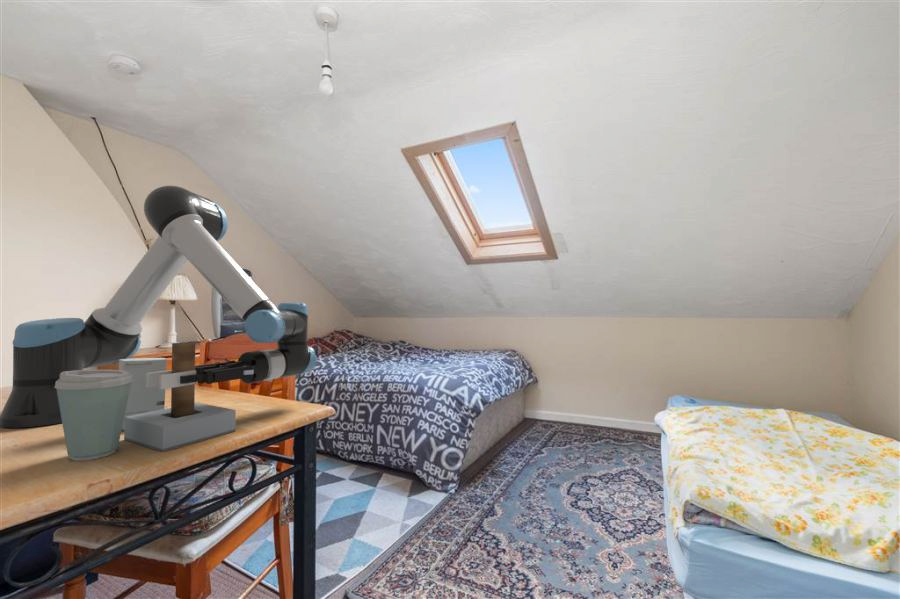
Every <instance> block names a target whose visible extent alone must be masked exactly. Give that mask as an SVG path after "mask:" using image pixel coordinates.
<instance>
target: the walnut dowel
mask: <svg viewBox="0 0 900 599" xmlns="http://www.w3.org/2000/svg"><path fill="white" fill-rule="evenodd" d="M171 343H172V342H171ZM195 366H196V342H194V341H190V342H189V341H186V342H185V341H183V342H173V343H172V344H171V370H172V373H179V372H186V371H194V370H195ZM195 386H196V384H193V385H186V386H180V387H174V388H170V389H171V390H170V391H171V393H170V394H171V395H170V396H171V397H170V402H171V403H170V408H171V418H180V417H184V416H189V415H193V414H194V403H196V402H195V398H196V397H195V395H196V394H195V391H196V390H195V388H196V387H195Z"/></svg>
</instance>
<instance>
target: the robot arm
mask: <svg viewBox="0 0 900 599" xmlns="http://www.w3.org/2000/svg"><path fill="white" fill-rule="evenodd" d="M143 213H144V215H145V218H146V220H147V222H148V224H149V225H150V227H152V229H153V230H154V231H155V232H156V234H157V235H158V236H157V238H156V239H155V241H154V242H153V244H151V245H150V247H149V248H148V250H147V251H146V252H145V254H144V255H143V256H142V258H141V259H140V260H139V262H138V263H137V264H136V266H135V267H134V268H133V269H132V271H131V272H130V273H129V275H128V276H127V278H125V280H124V281H123V283H122V284H121V285H120V287H119V288H118V290H117V291H116V292H115V293H114V295H113V296H112V297H111V298H110V300H109V302H107V304H106V306H104V307H100V308H96V309H94V310H93V311H92V312H91V314H90V315H89V316H88V318H86V320H85V321H84V320H83V319H82V318H80V317H79V318H78V317H59V318H47V319H38V320H31V321H25V322H22V323H20V324H19V325H17V326H16V328H15V329H14V338H13V340H12V348H13V349H12V350H13V352H12V353H13V354H12V355H13V356H12V388H11V392H10V394H9V395H8V398H7V400H6V402H5V404H4V406H3V409H2V411H1V413H0V427H1V428H10V429H14V428H15V429H17V428H19V429H21V428H32V427H33V428H34V427H42V426H50V425H55V424H56V425H57V424H62V418H61V412H60V406H59V401H58V395H57V389H56V388H55V383H56V381H57V380H58V379H60V374H61V373H62V372H65V371H74V370H84V369H89V368H96V367H102V366H103V367H104V366H110V365H117V364H119V360H120V359H131V358H132V357H133V356H134V355H135V354H136V353H137V352H138V351H139V349H140V346H141V343H142V341H141V340H140V339H141V338H142V336H141V333H142V331H143V327H142V324H141V322H142V321H143V319H145V317H146V316H147V315H148V313H149V312H150V311H151V309H152V307H153V306H154V305H155V304H156V302H157V301H158V300H159V299H160V297H161V296H162V294H163V293H164V292H165V291H166V289H167V288H168V286H169V285H170V284H171V283H172V281H173V280H174V279H175V277H176V276H177V274H178V273H180V270H181V269H182V268H183V267H184V266H185V264H186V263H187V262H188V261H189V263H191V265H192V266H193V267H194V268H195V269H196V270H197V272H198V273H200V276H202V277H203V278H204V279H205V280H206V282H208V283H209V285H210V286H211V287H212V288H213V289H214V290H215V291H216V292H217V293H218V294H219V296H220V297H221V298H222V299H223V300H224V301H225V302H226V303H227V305H229V306H230V308H231V309H232V310H233V311H234V312H235V313H236V314H237V315H238V316H239V318H241V320H242V321H243V322H244V329H245V333H246V336H247V337H248V338H249V339H250V340H251V341H253V342H255V343H259V344H272V343H277V348H272V349H263V350H255V351H245V352H243V353H241V355H240V356H238V357H239V358H238V360H233V359H232V360H227V361H224V362H220V361H217V362H213V363H207V364H206V363H205V364H199V365H195V370H194V371H186V372H179V373H172V369H169V370H167V371H161V372H153V373H147V375H146V387H154V386H159V389H161V390H162V389H165V390H168V389H171V388H174V387H180V386H186V385H193V384H195V385H196V384H199V385H202V384H207V385H211V384H215V383H223V382H229V381H234V380H235V381H236V380H240V381H241V382H243V383H245V384H247V385H250V384H255V383H261V382H263V381H264V382H265V381H267V382H268V383H271V382H273V379H274V380H275V379H276V380H277V379H280V378H281V379H282V378H287V377H294V376H300V375H304V374H307V373H310V372H311V371H313V370H314V369H315V368H316V365H317V361H318V357H317V355H316V351H315V349H314V348H313V347H312V346H309V345H308V344H309V343H308V333H309V332H308V330H309V329H308V328H309V327H308V325H309V324H308V322H309V321H308V320H309V315H308V314H309V313H308V311H309V310H308V305H307V304H306V303H304V302H281V303H278V305H277V306H276V305H275V304H274V302H273V301H271V300H270V298H269V297H268V296H267V295H266V294H265V293H264V291H263V290H262V289H261V288H260V287H259V286H258V285H257V284H256V283H255V282H254V280H253V279H252V278H251V277H250V276H249V275H248V274H247V273H246V271H244V270H243V269H242V267H241V266H240V265H239V264H238V262H236V261H235V259H233V257H232V256H231V255H230V254H229V253H228V252H227V251H226V250H225V249H224V247H222V245H220V243H219V241H221V240H222V238H224V237H225V234H226V233H227V230H228V227H229V226H228V225H229V221H228V217H227V215H226V212H225V210H224V209H223V208H222V207H221V206H220V205H219V204H218V203H216V202H214V201H213V200H211V199H210V198H207V197H204V196H202V195H199V194H197V193H195V192H192V191H190V190H188V189H186V188H184V187H181V186H177V185H164V186H160V187H157V188H154V189H153V190H152V191H150V193H148V195H147V197H146V198H145V199H144V204H143Z"/></svg>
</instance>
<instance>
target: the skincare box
mask: <svg viewBox="0 0 900 599" xmlns="http://www.w3.org/2000/svg"><path fill="white" fill-rule="evenodd" d="M167 365H168V359H167V358H165V357H138V358H129V359H120V360H119V363H118V370H122V371H127V372H129V374H132V377H133V381H132V382H131V386H130V391H129V396H128V401H127V406H126V410H125V415H124V420H123V425H122V430H121V432H122V431H124V423H125V417H127V416H132V415H137V414H142V413H147V412H152V411H157V410H162V409H166V408H165V406H166V403H165V402H166V389H162V390H161V389H159V386H154V387H146V375H147V373H153V372H161V371H168V370H167Z"/></svg>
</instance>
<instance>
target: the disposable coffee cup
mask: <svg viewBox="0 0 900 599" xmlns="http://www.w3.org/2000/svg"><path fill="white" fill-rule="evenodd" d="M132 381H133V377H132V374H129V372H127V371H122V370H119V369H83V370H74V371H65V372H62V373H61V374H60V379H58V380H57V381H56V383H55V388H56V389H57V395H58V401H59V406H60V412H61V418H62V423H61V424H62V429H63V430H62V431H63V434H64V440H65V441H64V442H65V447H66V453H67V455H68V456H69V459H70V460H72V461H75V462H77V461H78V462H79V461H81V462H85V461H92V460H97V459H101V458H105V457H109V456H111V455H112V454H114V453H116V452H117V449H118V447H119V445H120V444H119V443H120V441H121V440H120V439H121V434H122V431H123V430H122V425H123V420H124V415H125V410H126V406H127V401H128V396H129V391H130V386H131V382H132ZM121 430H122V431H121Z"/></svg>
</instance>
